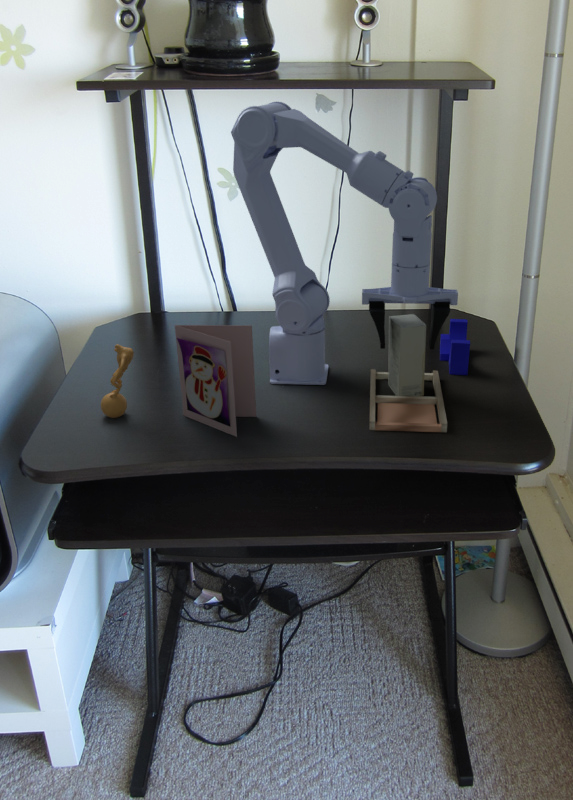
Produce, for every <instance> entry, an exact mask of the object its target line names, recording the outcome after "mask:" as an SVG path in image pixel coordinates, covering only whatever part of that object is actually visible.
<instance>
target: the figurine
mask: <svg viewBox="0 0 573 800" xmlns="http://www.w3.org/2000/svg"><path fill="white" fill-rule="evenodd" d="M113 350H114V352H115V353H117V354H116V361H117V365H118V368H117V369H116V370H115V372H113V374H112V377H111V378H110V380H109V381H110V384H111V385H110V386H112V387H114V388H115V389H114V390H111V392H109V393H107V394H105V395H104V396H103V397H102V398H101V400H100V409H101V411H102V413H103V414H104V415H105V416H106V417H108V418H111V419H116V418H117V419H118V418H119V417H122V416H123V415H124V414H126V411H127V410H128V409H127V408H128V402H127V399H126V397H125V396H124V395H123V394H121V393H120V391H121V388H122V386H123V381H122V380H121V379H122V377H123V375H124V373H125V372H126V371H127V370H128V368H129V365H130V363H132V360H133V359H134V356H135V355H134V354H135V352H134V350H133V348H131V347H125V346H123V345H121V344H118V343H117V344H115V345H114V349H113Z"/></svg>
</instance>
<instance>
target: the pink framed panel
mask: <svg viewBox="0 0 573 800" xmlns="http://www.w3.org/2000/svg"><path fill="white" fill-rule="evenodd" d="M376 380H388V371H386V372H385V371H376V369H375V368H371V369H370V387H369V388H370V389H369V390H370V391H369V396H370V397H369V426H368V427H369V431H386V432H387V431H389V432H390V431H391V432H392V431H393V432H394V431H395V432H421V433H423V432H424V433H447V432H448V420H447V414H446V409H445V403H444V397H443V392H442V386H441V382H440V381H441V380H440V376H439V371H438V370H432V372H431V373H430V372H425V373H424V381H432V385H433V390H434V396H396V395H384V394H383V395H382V394H381V395H379V394H378V395H377V394H376ZM376 404H377V421H376ZM435 405H436V407H435ZM436 411H437V413H436ZM437 414H438V415H437ZM437 416H438V419H437Z"/></svg>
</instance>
